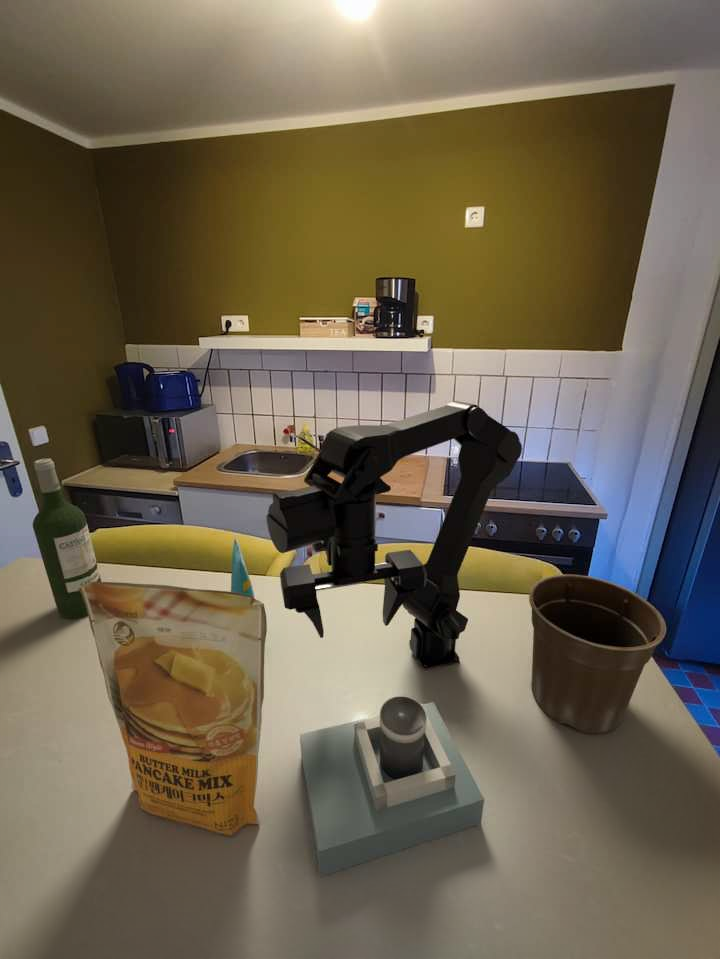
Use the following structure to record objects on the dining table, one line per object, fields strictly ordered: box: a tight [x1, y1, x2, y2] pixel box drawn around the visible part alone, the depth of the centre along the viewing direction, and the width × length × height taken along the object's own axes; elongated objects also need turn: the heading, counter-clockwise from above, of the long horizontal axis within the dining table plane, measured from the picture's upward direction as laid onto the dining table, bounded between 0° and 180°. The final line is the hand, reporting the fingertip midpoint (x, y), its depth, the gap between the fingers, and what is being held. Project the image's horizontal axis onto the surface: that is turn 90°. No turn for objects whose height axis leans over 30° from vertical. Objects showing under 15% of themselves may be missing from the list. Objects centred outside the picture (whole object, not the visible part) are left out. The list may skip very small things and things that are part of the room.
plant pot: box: [528, 573, 667, 735], centre depth 60 cm, size 16×16×16 cm
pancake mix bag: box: [78, 581, 268, 837], centre depth 45 cm, size 7×19×28 cm, turn 76°
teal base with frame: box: [299, 701, 485, 878], centre depth 50 cm, size 18×13×6 cm
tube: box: [230, 536, 256, 599], centre depth 70 cm, size 7×5×19 cm, turn 27°
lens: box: [379, 695, 427, 780], centre depth 49 cm, size 5×5×7 cm
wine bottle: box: [32, 458, 102, 620], centre depth 79 cm, size 8×8×30 cm
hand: (353, 629), depth 59 cm, fingers open, 9 cm apart
